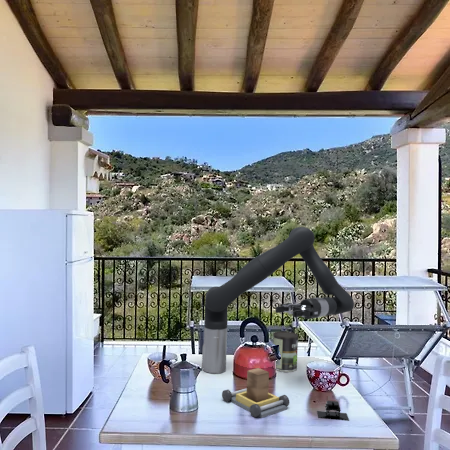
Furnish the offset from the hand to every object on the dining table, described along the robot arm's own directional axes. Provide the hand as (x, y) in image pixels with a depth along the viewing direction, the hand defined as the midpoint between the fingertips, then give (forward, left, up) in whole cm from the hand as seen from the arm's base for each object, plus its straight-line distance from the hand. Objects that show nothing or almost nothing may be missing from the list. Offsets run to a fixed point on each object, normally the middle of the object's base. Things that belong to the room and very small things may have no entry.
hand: (284, 312), depth 158 cm
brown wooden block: (+5, -17, -27) cm, 32 cm away
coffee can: (-16, +18, -28) cm, 37 cm away
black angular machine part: (+24, -3, -29) cm, 38 cm away
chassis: (+4, -17, -28) cm, 33 cm away
